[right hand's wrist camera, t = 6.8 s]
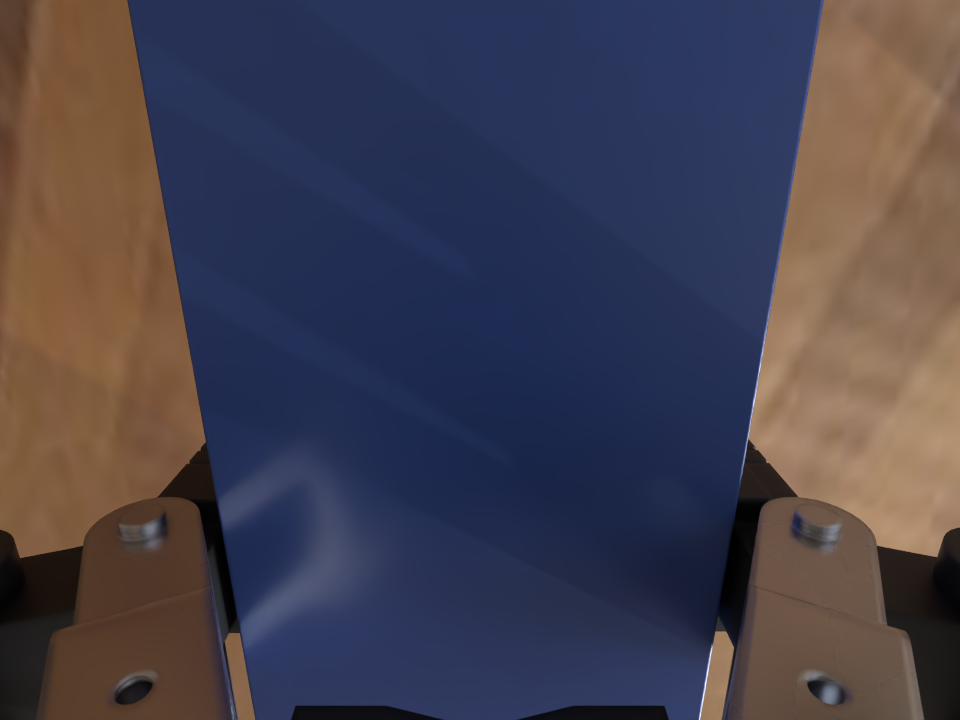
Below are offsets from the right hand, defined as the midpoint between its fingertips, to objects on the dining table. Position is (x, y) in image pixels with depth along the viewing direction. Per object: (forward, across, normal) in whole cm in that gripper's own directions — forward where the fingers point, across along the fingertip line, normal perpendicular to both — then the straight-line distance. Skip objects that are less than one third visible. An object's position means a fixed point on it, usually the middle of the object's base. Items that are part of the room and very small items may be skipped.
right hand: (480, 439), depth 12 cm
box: (+6, 0, +10) cm, 11 cm away
